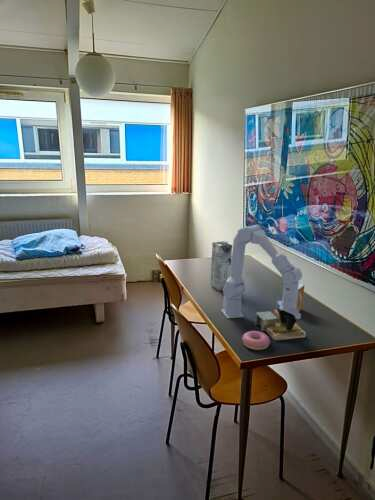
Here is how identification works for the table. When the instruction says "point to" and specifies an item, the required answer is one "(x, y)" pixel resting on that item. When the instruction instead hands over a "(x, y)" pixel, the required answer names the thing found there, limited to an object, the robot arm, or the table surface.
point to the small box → (300, 297)
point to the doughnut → (255, 340)
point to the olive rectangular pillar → (284, 328)
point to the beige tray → (285, 334)
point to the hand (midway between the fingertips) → (286, 327)
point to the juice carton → (220, 264)
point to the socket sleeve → (266, 320)
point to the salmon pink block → (275, 315)
